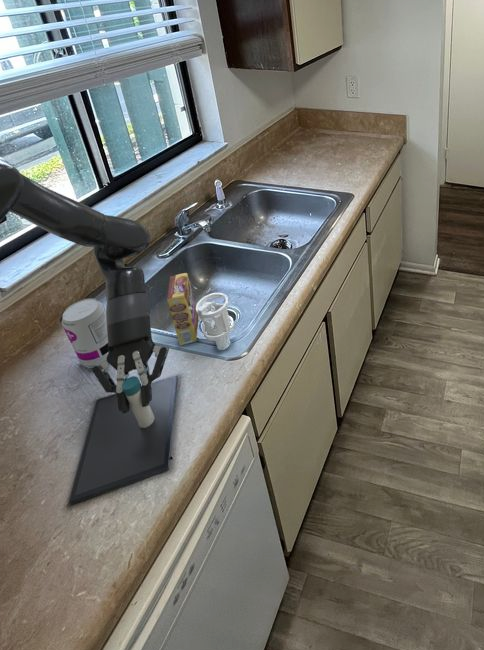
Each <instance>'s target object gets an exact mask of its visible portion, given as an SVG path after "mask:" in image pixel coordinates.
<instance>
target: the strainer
mask: <svg viewBox="0 0 484 650" xmlns="http://www.w3.org/2000/svg"><path fill="white" fill-rule="evenodd" d="M216 298H221V299H223V300H224V301H225V302H224V303H221V302H220V303H219V302H217V300H213V301H209V300H212V299H216ZM229 304H230V302H229V298H228V295H226V293H223V292H212V293H209V294H207V295H205V296H203V297H202V298H201V299H200V300H198V301H197V303H196V311H197V314H198V316H199V320H200V321H201V322H203V327H202V333H203V337H204V338H205V339H206V340H207V341H210V342H211V341H213V342H215V346H216V348H217V350H219V351H224V350H226V349H228V348H229V347H230V345H231V341H230V337H229V335H230V334H231V333H232V332H233V331H234V329H235V320H234V318H233V317H232V315H229V312H228V307H229Z"/></svg>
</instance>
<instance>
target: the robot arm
mask: <svg viewBox="0 0 484 650" xmlns="http://www.w3.org/2000/svg"><path fill="white" fill-rule="evenodd" d="M8 213H11V214H14V215H16V216H18V217H20V218H22V219H24V220H26V221H28V222H30V223H31V224H33V225H35V226H36V227H38V228H41V229H42V230H44V231H46V232H48V233H49V234H52V235H54V236H56V237H59V238H61V239H64V240H65V241H68V242H71V243H74V244H77V245H80V246H82V247H87V248H89V247H90V248H92V252H93V256H94V259H95V261H96V263H97V265H98V268H99V271H100V272H101V275H102V277H103V281H104V283H105V299H106V308H105V310H106V321H107V334H108V348H109V352H108V355H107V358H106V360H105V361H104V362H102V363H101V364H99V365H98V366H94V367H91V371H92V373H93V374H94V376H95V378H96V379H97V381H98V382H99V384H100V385H101V387H102V388H103V390H104V392H105V393H107V394H110V393H111V394H112V393H113V394H117V397H118V409H119V411H122V413H126V412H128V411H130V406H129V401H128V399H127V397H126V395H125V393H124V391H123V389H122V384H123V382H124V381H125V380H126V379H128V378H129V377H130V372H132V371H134V370H136V372H137V375H138V376H139V381H140V383H141V386H142V387H141V398H142V407H145V406H148V405H149V402H150V401H151V400H152V390H151V383H153V382H155V381H156V379H158V378H160V377H161V376H162V372H163V369H164V367H165V363H166V360H167V357H168V354H169V351H170V348H169V346H159V345H156V343H155V342H154V341H153V338H152V327H151V319H150V318H151V317H150V313H151V311H150V306H149V301H148V296H147V293H146V292H147V291H146V281H145V273H144V270H143V269H142V268H141V267H139V266H126V265H125V263H124V260H123V259H127V258H129V257H132V256H136V255H138V254H141V253H142V252H144V251H146V250H147V248H148V247H149V245H150V243H151V235H150V232H149V230H148V229H147V228H146V227H145V226H144V225H143V224H142V223H140V222H139V221H136V220H133V219H129V218H125V217H121V216H115V215H108V214H105V213H103V212H101V211H98V210H96V209H94V208H92V207H90V206H88V205H86V204H83V203H81V202H79V201H77V200H75V199H74V198H73V199H72V198H70V197H68V196H65V195H64V194H62V193H59V192H57V191H55V190H53V189H50V188H48V187H46V186H44V185H42V184H40V183H38V182H37V181H35V180H33V179H31V178H30V177H27V176H26V175H24V174H22V173H21V172H20V170H18V169H17V168H16V167H15V166H14V165H13V164H12V163H10V162H9V161H7V160H6V159H5V158H3V157H2V156H1V155H0V223H1V222H2V221H3V220H4V218H5V217H6V216H7V215H8ZM153 354H154V357H155V358H156V360H155V363H154V366H153V369H152V372H150V367H149V363H148V362H149V360H150V358H151V357H152V355H153ZM110 366H111V367H112V368H113V369H114V370H115V371H116V378H115V379H116V383H115V381H114V380H113V378H112V377H111V374H109V371H110Z"/></svg>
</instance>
